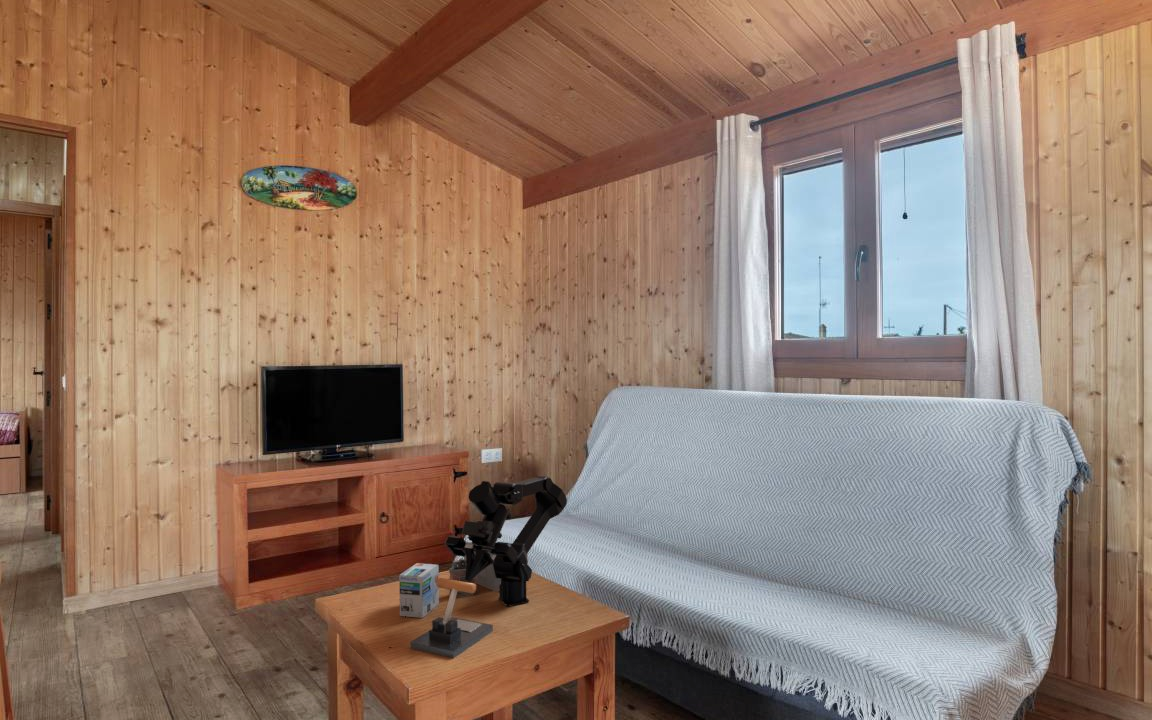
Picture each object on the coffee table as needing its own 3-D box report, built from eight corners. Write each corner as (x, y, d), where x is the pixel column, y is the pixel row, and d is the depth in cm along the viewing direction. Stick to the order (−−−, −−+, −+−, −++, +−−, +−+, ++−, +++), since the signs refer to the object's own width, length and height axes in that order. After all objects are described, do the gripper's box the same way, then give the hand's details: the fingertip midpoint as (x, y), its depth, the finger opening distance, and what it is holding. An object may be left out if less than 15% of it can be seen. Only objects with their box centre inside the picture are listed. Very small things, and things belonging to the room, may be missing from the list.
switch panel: (452, 622, 167) (452, 601, 167) (492, 630, 161) (492, 608, 161) (410, 648, 152) (410, 624, 152) (453, 658, 147) (453, 633, 147)
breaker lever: (430, 622, 157) (442, 579, 162) (465, 629, 153) (477, 584, 157) (424, 620, 155) (437, 576, 160) (460, 627, 151) (472, 582, 156)
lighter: (450, 598, 184) (450, 562, 184) (448, 594, 187) (447, 558, 187) (479, 594, 187) (478, 558, 187) (476, 590, 190) (475, 555, 190)
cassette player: (502, 588, 191) (501, 554, 191) (494, 591, 189) (494, 556, 189) (471, 576, 203) (471, 543, 202) (464, 578, 201) (463, 545, 201)
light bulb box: (423, 618, 170) (422, 576, 170) (398, 616, 171) (398, 575, 171) (439, 603, 180) (439, 563, 180) (416, 601, 181) (416, 562, 181)
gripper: (448, 504, 171) (421, 559, 161) (510, 510, 163) (486, 568, 153) (466, 527, 178) (441, 581, 168) (527, 535, 170) (504, 592, 160)
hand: (467, 580), depth 162 cm, fingers closed
